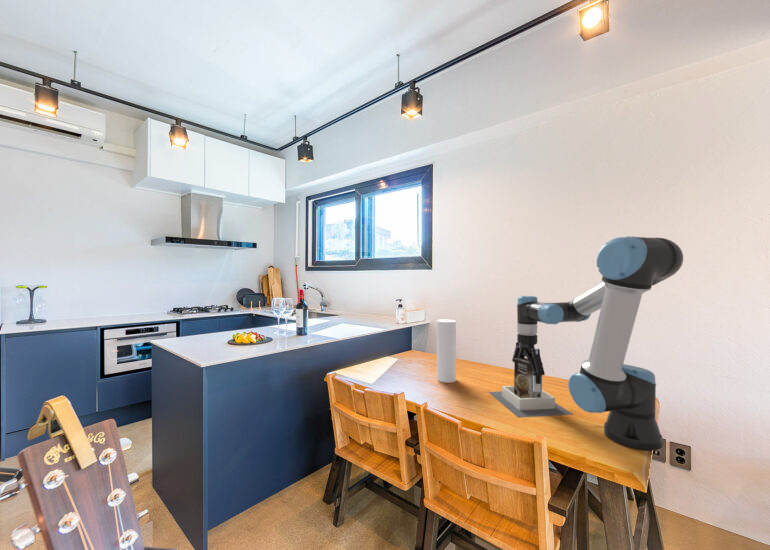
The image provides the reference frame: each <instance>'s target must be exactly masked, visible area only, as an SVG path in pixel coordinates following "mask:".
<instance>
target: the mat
mask: <svg viewBox="0 0 770 550" xmlns="http://www.w3.org/2000/svg"><path fill="white" fill-rule="evenodd" d="M488 393H489V394H490V395H491V396H492V397H493V398H494V399H495V400H497V401H498V402H499V403H500V404H501V405H503V406H504V407H505V408H506V409H507V410H508V411H510V412H511V413H512V414H513V415H515V416H516V417H517V419H519V418H532V417H552V416H553V417H554V416H570V415H574V413H573V412H571V411H569V410H567V409H566V408H565V407H563V406H561V405H560V404H558V403H556V402H555V409H538V410H518V409H517V408H516V407H515V406H513V405H512V404H511V403H510V402H508V401H507V400H506V399H505V398H503V397H502V390H501V391H488Z"/></svg>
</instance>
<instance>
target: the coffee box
mask: <svg viewBox="0 0 770 550" xmlns="http://www.w3.org/2000/svg"><path fill="white" fill-rule="evenodd" d="M514 360H515V364H514V366H513V367H514V373H513V375H514V377H513V386H514V394H515V395H516V396H518V397H519V398H540V397H542V390H543V375H541V392H533V374H534V372H533V369H532V367H531V364H530V361H529V360H528V359H527V357H524V358H518V359H516V358H515V359H514ZM542 365H543V366H544V364H543V362H542Z"/></svg>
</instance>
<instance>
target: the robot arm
mask: <svg viewBox="0 0 770 550" xmlns="http://www.w3.org/2000/svg"><path fill="white" fill-rule="evenodd" d="M595 264H596V267H597V268H598V272H599V273H600V275H602V277H601V282H599V283H598V284H596V285H594V286H593V287H591V288H589V289H588V290H586V291H585V292H583V293H582V294H580V295H578V296H577V297H575V298H573V299H571V300H570V301H567V302H565V301H563V302H539V301H538V297H537V296H535V295H520V296H518V297H517V304H516V309H517V310H516V311H517V314H516V315H517V323H516V324H517V325H516V327H517V328H516V330H517V331H516V332H517V335H516V337H517V338H516V339H517V340H516V341H517V342H515V348H514V353H513V356H512V358H511V361H512V362H513V363H514V365H515V360H514V359H518V358H527V359H528V360H529V361H530V364H531V367H532V369H533V372H534V374H533V392H541V375H542V376H545V369H544V364H543V365H542V363H543V362H542V358H541V352H540V351H541V350H540V348H536V347H535V346H536V345H538V326H539V325H538V323H542V324H546V325H558V324H559V323H569V322H570V323H571V322H572V323H573V322H576V323H579V322H584V321H587V320H589V319H590V317H591V315H592V314H593V313H595V312H597V311H599V310H600V311H599V315H598V320H597V323H596V328H595V331H594V336H593V340H592V344H591V348H590V353H589V357H588V359H585V360H584V361H582V363H581V365H580V368H579V372H576V373H574V374H572V375H570V377H569V379H568V385H567V386H568V391H569V394H570V396H571V398H572V400H573V402H574V403H575V405H577V406H578V408H579V409H581V410H583V411H585V412H587V413H592V414H593V413H595V414H602V413H605V412H609V413H608V415H607V418H606V421H605V422H604V424H603V434H604V435H605V436H606V437H607V438H608V439H610V440H611V441H613V442H614V443H617V444H620V445H623V446H625V447H629V448H632V449H636V450H643V451H657V450H661V449H662V448H663V443H664V441H663V436H662V434H661V431H660V429H659V428H660V427H659V425H658V422H657V420H656V390H657V389H656V386H657V382H656V375H655V374H654V373H653V371H651V370H648V369H646V368H644V367H640V366H639V367H638V366H635V365H630V364H624V363H625V360H626V355H627V353H628V349H629V345H630V342H631V341H630V340H631V337H632V333H633V330H634V325H635V323H636V318H637V315H638V312H639V311H638V310H639V308H640V304H641V300H642V296H643V294H644V293H647V292H648V291H650V290H651V289H652V286H655V285H657V284H659V283H661V282H662V281H665V280H667V279H669V278H671V277H672V276H674V275H675V274H676V273H677V272H679V270H680V269H681V267H682V266H683V264H684V254H683V250H682V249H681V247H680V246H679V245H678V244H677V243H675V242H674V241H672V240H671V239H668V238H665V237H664V238H663V237H640V236H629V235H628V236H622V237H621V236H619V237H615V238H613V239H610V240H609V241H607V242H606V243H605V244H604V245H602V247H601V248H600V250H599V251H598V253H597V256H596V263H595Z"/></svg>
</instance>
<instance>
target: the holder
mask: <svg viewBox="0 0 770 550" xmlns="http://www.w3.org/2000/svg"><path fill="white" fill-rule="evenodd" d="M501 391H502V397H503V398H505V399H506V400H507V401H508V402H510V403H511V404H512V405H513V406H515V407H516V408H517V409H518V410H538V409H555V403H556V397H554V396H553V395H551V394H550V393H548V392H546V390H543V389H542V397H540V398H519V397H518V396H516V395H515V394H514V385H504V386H503V385H502V386H501Z"/></svg>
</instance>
